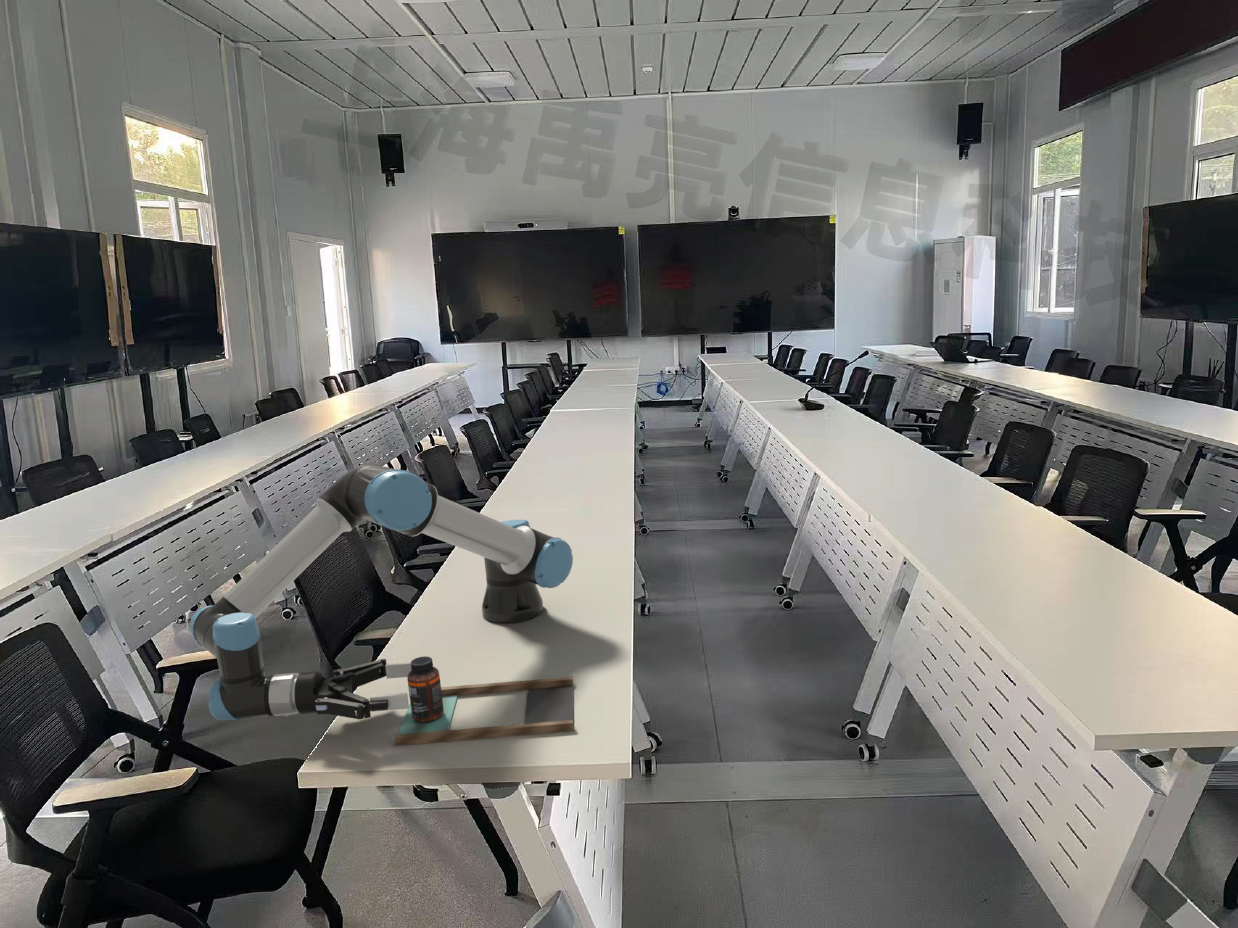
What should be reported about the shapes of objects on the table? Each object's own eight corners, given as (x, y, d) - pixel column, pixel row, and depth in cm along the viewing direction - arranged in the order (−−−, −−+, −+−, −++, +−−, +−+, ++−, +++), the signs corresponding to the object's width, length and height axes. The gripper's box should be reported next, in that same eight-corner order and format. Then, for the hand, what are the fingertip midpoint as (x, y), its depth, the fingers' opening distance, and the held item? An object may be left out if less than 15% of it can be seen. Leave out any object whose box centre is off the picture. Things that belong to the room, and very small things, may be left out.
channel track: (394, 745, 154) (393, 737, 154) (413, 696, 173) (412, 689, 172) (573, 730, 155) (572, 722, 155) (573, 683, 174) (572, 676, 174)
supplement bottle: (446, 707, 166) (440, 652, 164) (441, 722, 161) (435, 665, 158) (415, 709, 166) (409, 654, 164) (409, 724, 160) (402, 668, 158)
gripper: (320, 682, 173) (426, 673, 174) (280, 746, 149) (404, 735, 150) (315, 647, 172) (422, 639, 173) (274, 705, 147) (399, 695, 148)
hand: (414, 683), depth 161 cm, fingers open, 13 cm apart
